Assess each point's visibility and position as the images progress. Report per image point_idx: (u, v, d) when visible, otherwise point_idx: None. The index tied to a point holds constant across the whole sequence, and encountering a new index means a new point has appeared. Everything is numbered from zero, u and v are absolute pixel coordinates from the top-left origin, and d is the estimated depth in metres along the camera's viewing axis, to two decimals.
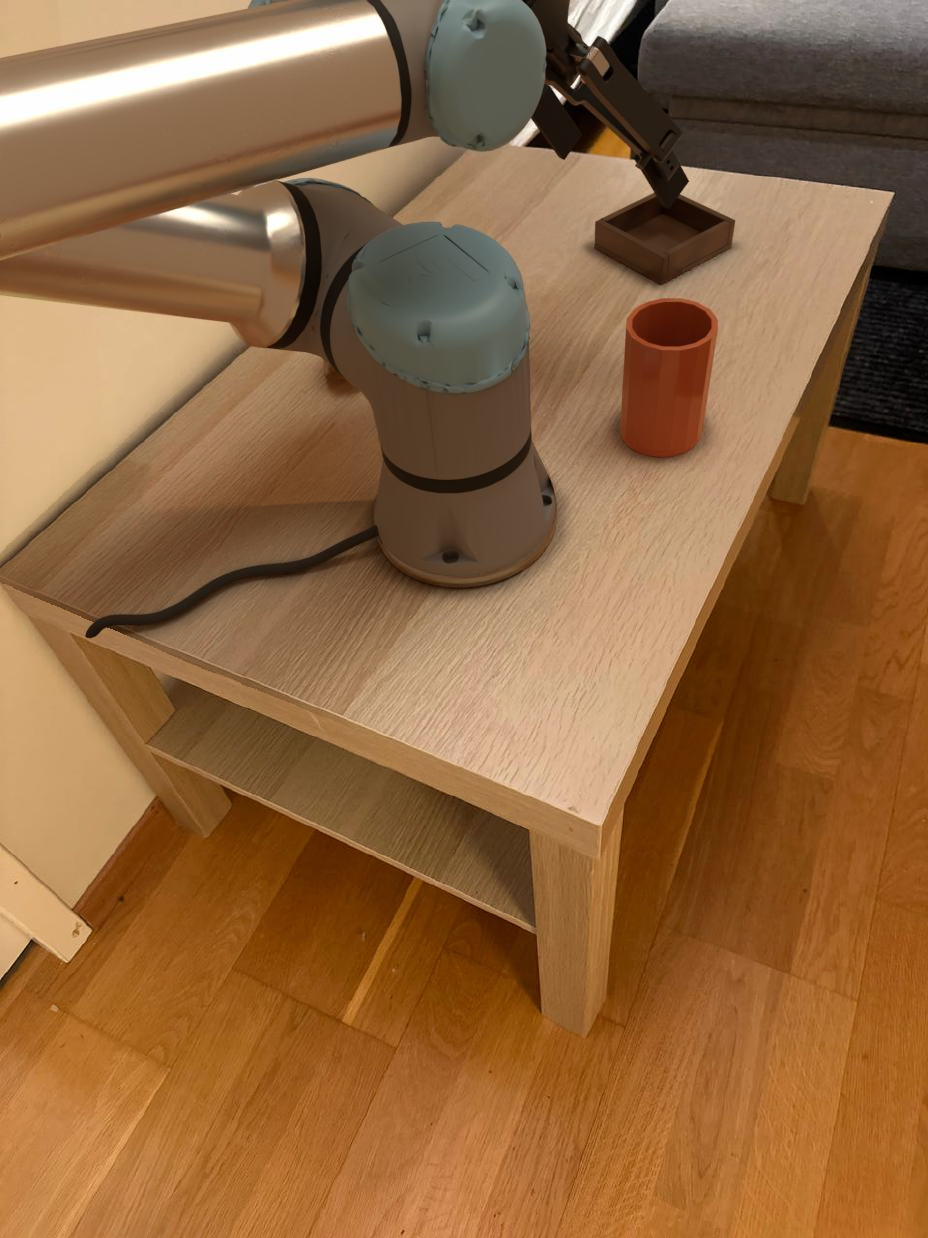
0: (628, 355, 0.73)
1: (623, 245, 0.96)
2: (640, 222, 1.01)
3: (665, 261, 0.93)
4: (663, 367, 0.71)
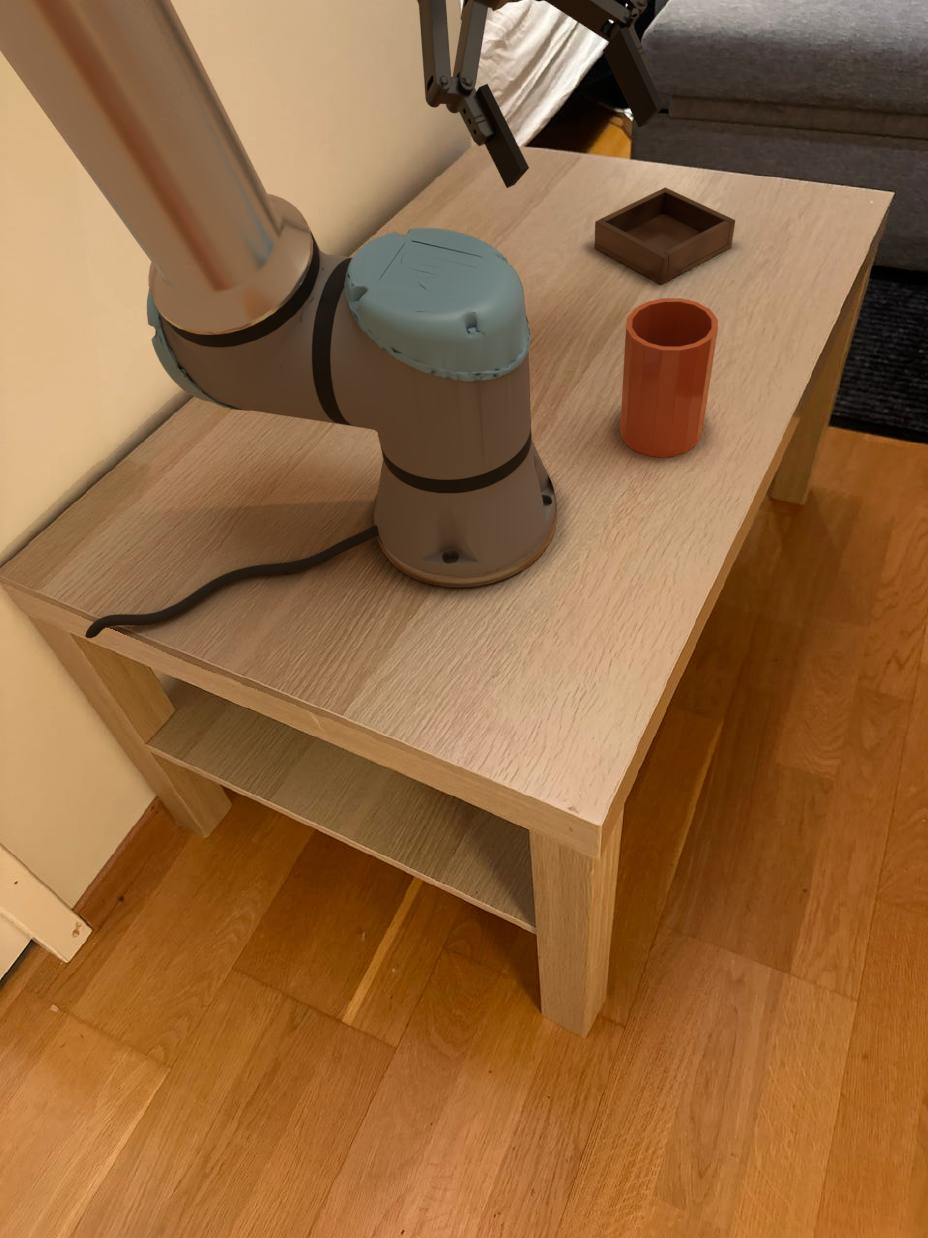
0: (628, 355, 0.73)
1: (623, 245, 0.96)
2: (640, 222, 1.01)
3: (665, 261, 0.93)
4: (663, 367, 0.71)
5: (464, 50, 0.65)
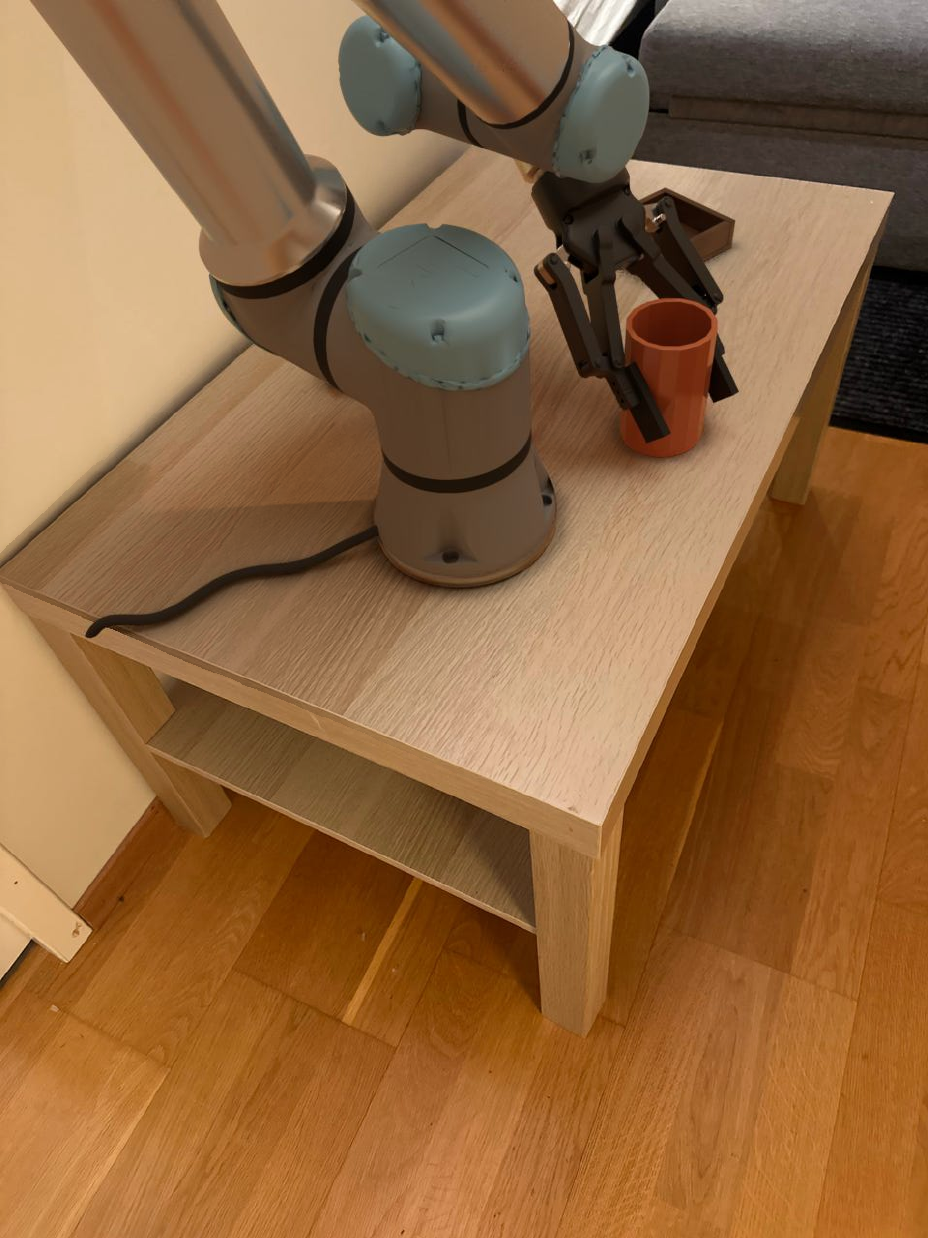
0: (628, 355, 0.73)
1: None
2: None
3: None
4: (663, 367, 0.71)
5: (607, 334, 0.72)
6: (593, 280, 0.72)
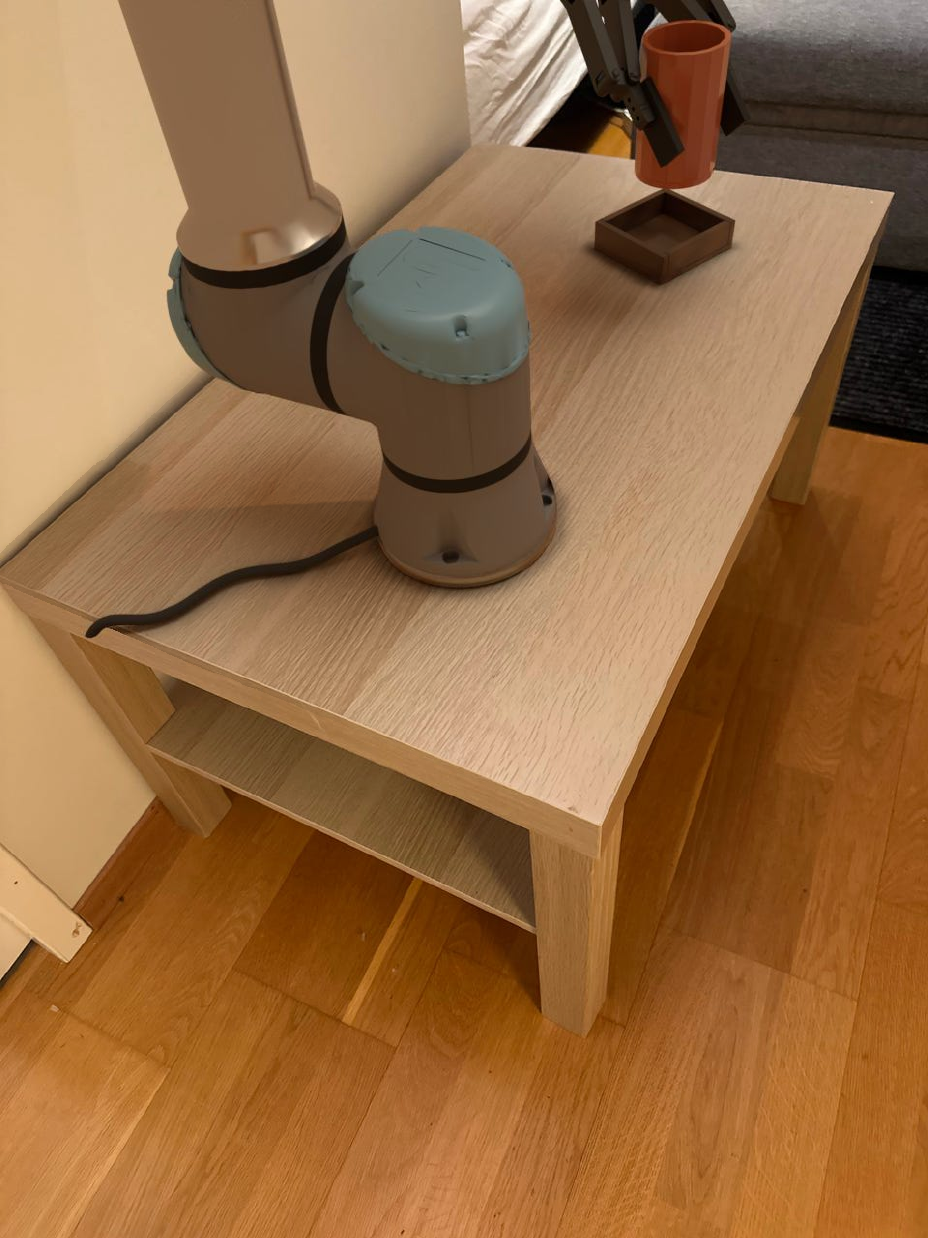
0: (644, 72, 0.76)
1: (623, 245, 0.96)
2: (640, 222, 1.01)
3: (665, 261, 0.93)
4: (678, 76, 0.74)
5: (623, 47, 0.74)
6: None
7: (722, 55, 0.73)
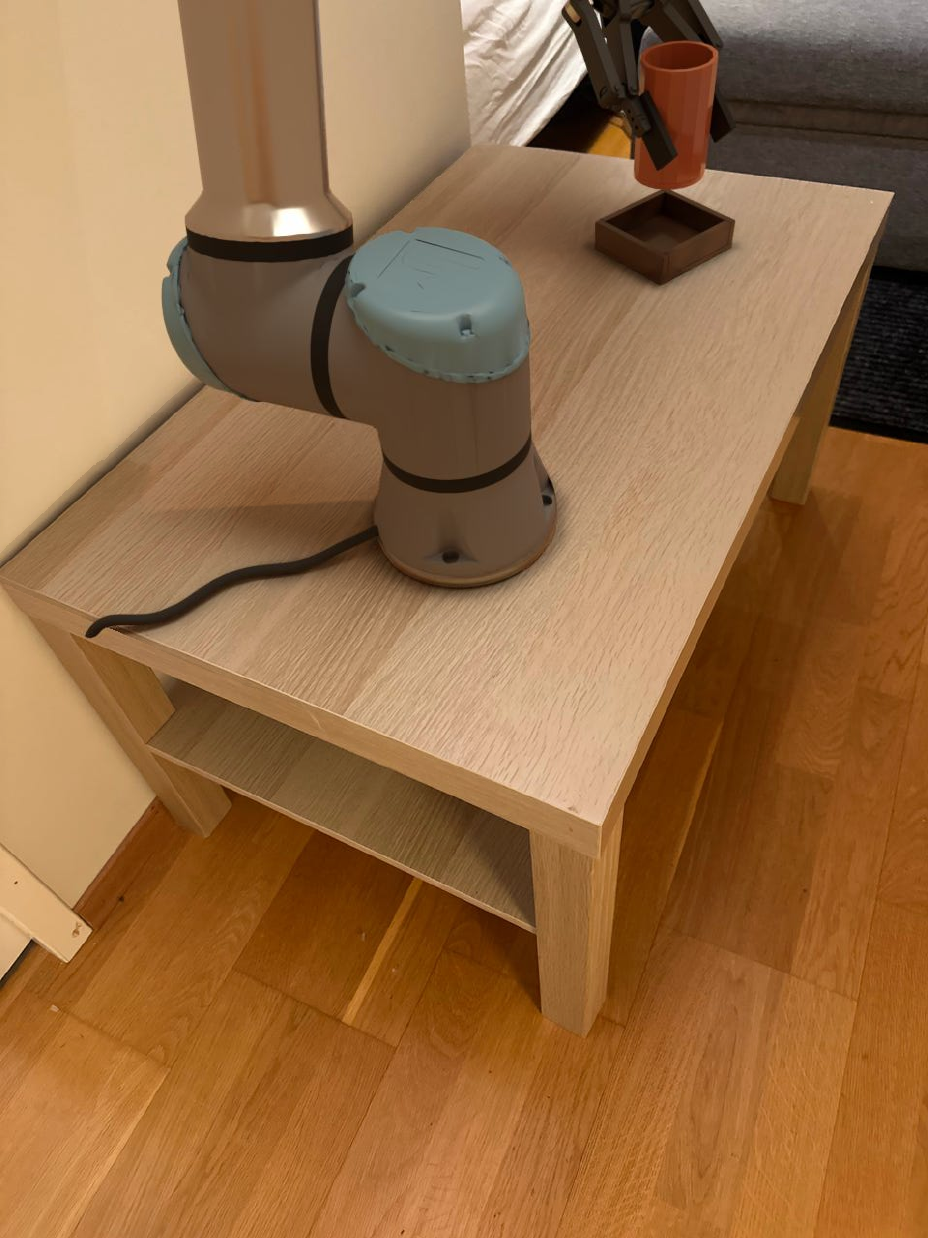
0: (642, 86, 0.86)
1: (623, 245, 0.96)
2: (640, 222, 1.01)
3: (665, 261, 0.93)
4: (672, 90, 0.84)
5: (624, 64, 0.84)
6: (612, 21, 0.85)
7: (710, 72, 0.83)
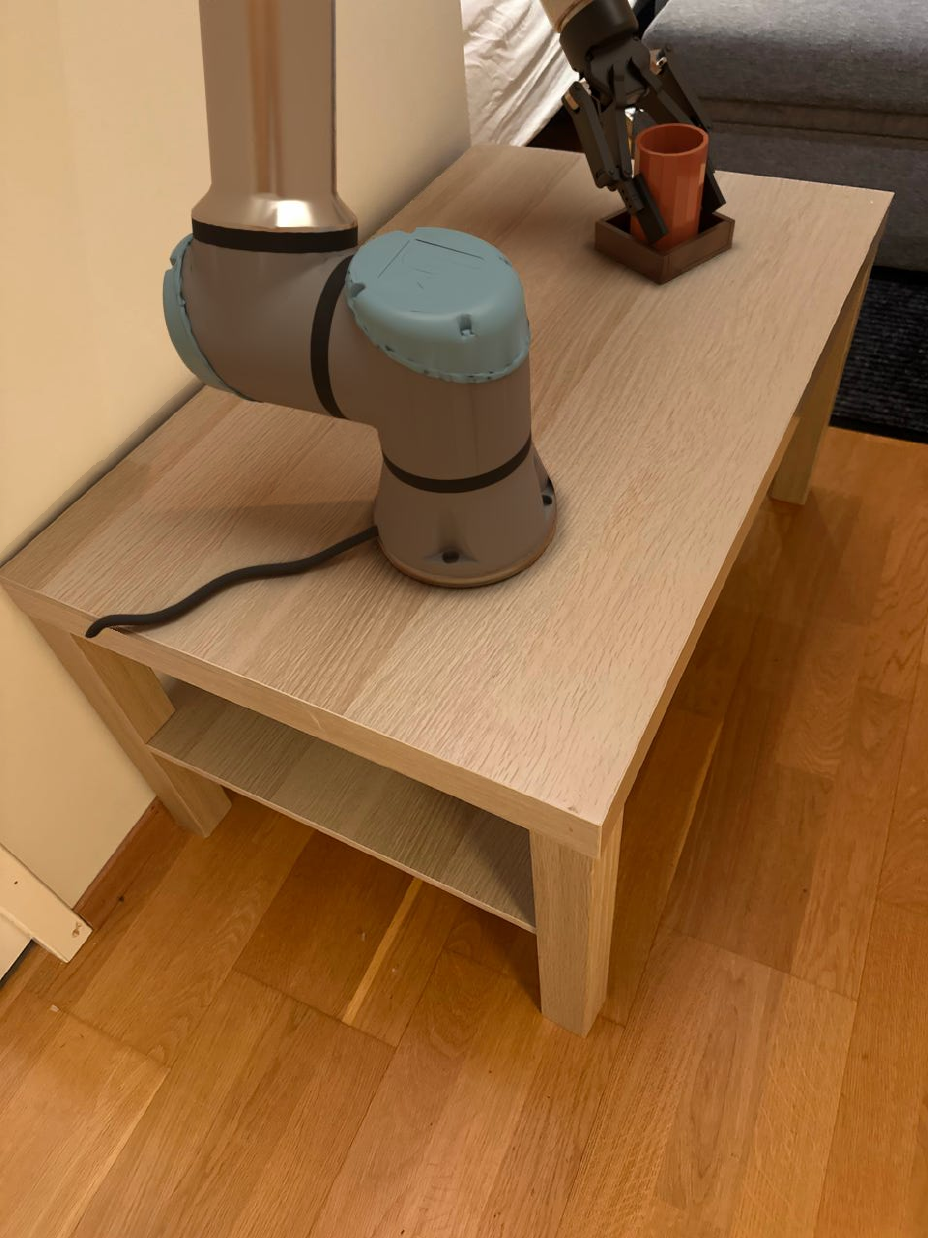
0: (637, 167, 0.92)
1: (623, 245, 0.96)
2: None
3: (665, 261, 0.93)
4: (665, 172, 0.90)
5: (618, 149, 0.90)
6: (608, 108, 0.91)
7: (701, 155, 0.89)
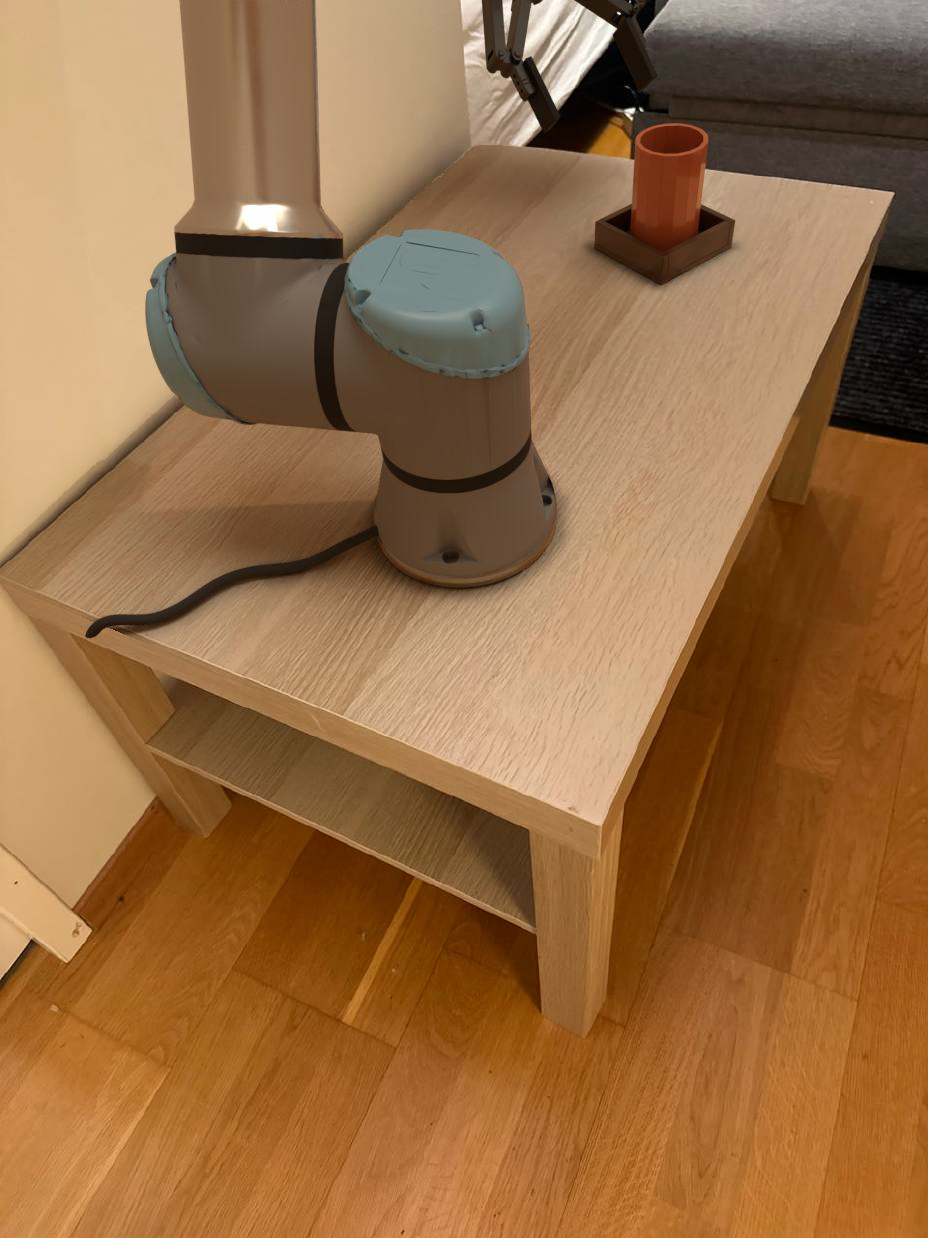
0: (637, 167, 0.92)
1: (623, 245, 0.96)
2: None
3: (665, 261, 0.93)
4: (665, 172, 0.90)
5: (515, 32, 0.91)
6: None
7: (701, 155, 0.89)
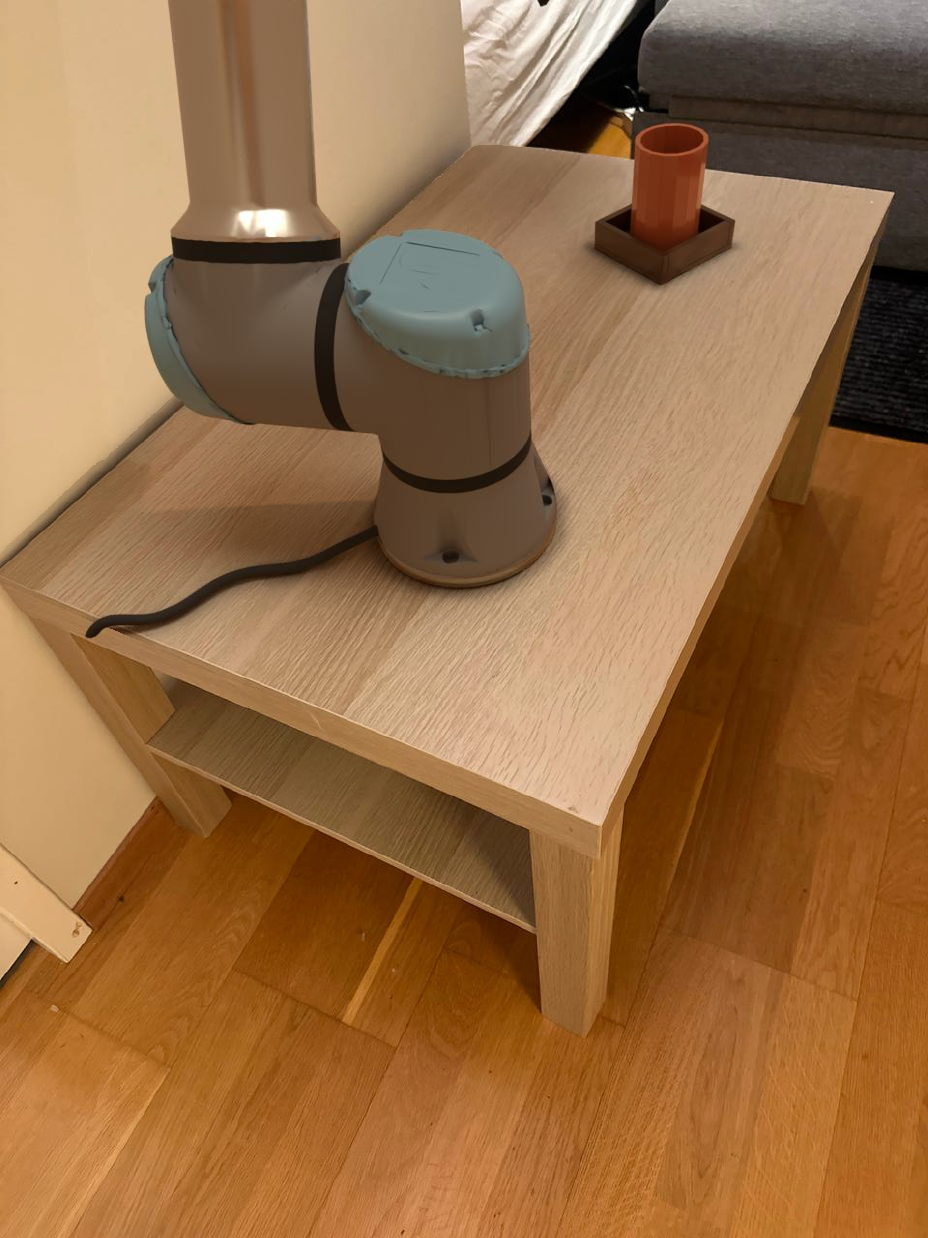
0: (637, 167, 0.92)
1: (623, 245, 0.96)
2: None
3: (665, 261, 0.93)
4: (665, 172, 0.90)
5: None
6: None
7: (701, 155, 0.89)
